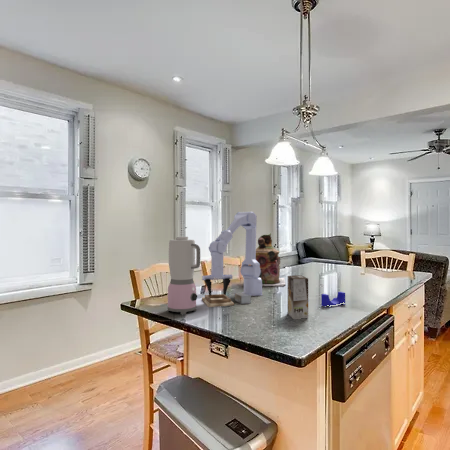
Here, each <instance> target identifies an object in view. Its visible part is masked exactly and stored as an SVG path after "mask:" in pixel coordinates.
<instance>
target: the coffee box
mask: <svg viewBox="0 0 450 450" xmlns="http://www.w3.org/2000/svg"><path fill="white" fill-rule="evenodd" d="M287 315H288V316H289V317H291V319H292V320H302V319H301V318H308V319H309V278H308V277H305V276H303V274H302V275H301V274H300V275H298V274H297V275H296V274H295V275H287Z"/></svg>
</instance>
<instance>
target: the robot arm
mask: <svg viewBox="0 0 450 450" xmlns="http://www.w3.org/2000/svg"><path fill="white" fill-rule="evenodd" d="M257 222H258V221H257V214H256V213H255V212H254V211H251V210H250V211H237V212H236V214H235V215H234V216H233V220H232V221H231V223H230V224H229V226H228V227H227V229H224V230H222V231H221V233H220V234H219V235H218V236H217V237H216V238H215V240H213V241H211V242H210V244H209V246H208V250H209V252H210V253H209V254H210V257H211V258H210V259H211V261H210V263H211V273H210V274H209V275H202V276H201V280H202V281H204V283H205V285H206V288H207V292H208V295H210V296H211V295H212V283H213V280H222V283H223V284H222V285H223V289H222V290H223V291H222V294H224V295H226V296H227V290H228V287H229V285H230V284H231V280H233V274H224V253H225V252H226V250H227V246H228V244H229V243H230V242H231V240H232V238H233V234H234V233H235V232H236V231H237V229H239V227H243V228H244V229H245V258H244V260H243V261H242V262H241V267H240V274H241V276H242V278H243V292H240V293H246V294H249V295H251V297H253V296H254V297H257V296H263V295H264V294H263V286H262V280H261V278H258V277H259V276H260V273H261V270H260V263H259V262H257V261H256V249H257V248H256V247H257Z"/></svg>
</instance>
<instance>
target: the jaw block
mask: <svg viewBox="0 0 450 450" xmlns="http://www.w3.org/2000/svg"><path fill="white" fill-rule="evenodd" d="M234 301H235V302H237V303H238V304H240V305H246V304H252V303H251V302H252V296H251V295H249V294H246V293H241V292H236V293H234Z"/></svg>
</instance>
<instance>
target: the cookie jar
mask: <svg viewBox="0 0 450 450" xmlns="http://www.w3.org/2000/svg"><path fill="white" fill-rule="evenodd" d="M271 235H272V233H269V234H262V235H261V236H260V237H258V240H257V244H258V247H257V248H256V261H257V262H259V263H260V270H261V273H260V276H259V277H258V278H261V280H262V287H284V286H285V285H286V280H285V277H280V276H281V268H280V265H281V256H279V254H280V251H279V250H277V249H275V248H274V247H273V245H272V243H273V240H272V236H271Z"/></svg>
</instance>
